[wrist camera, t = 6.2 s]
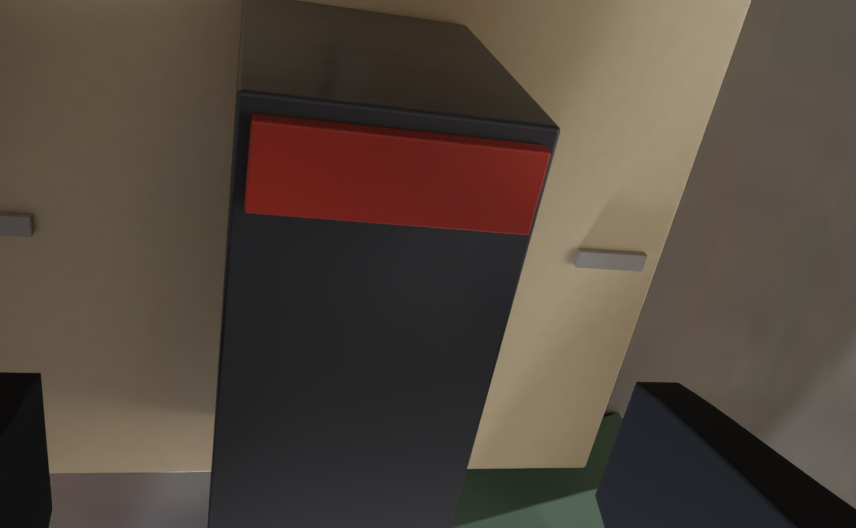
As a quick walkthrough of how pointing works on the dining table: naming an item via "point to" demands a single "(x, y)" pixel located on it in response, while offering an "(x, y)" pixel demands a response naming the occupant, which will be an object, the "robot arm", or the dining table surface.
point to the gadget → (366, 264)
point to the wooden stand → (209, 202)
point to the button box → (538, 492)
